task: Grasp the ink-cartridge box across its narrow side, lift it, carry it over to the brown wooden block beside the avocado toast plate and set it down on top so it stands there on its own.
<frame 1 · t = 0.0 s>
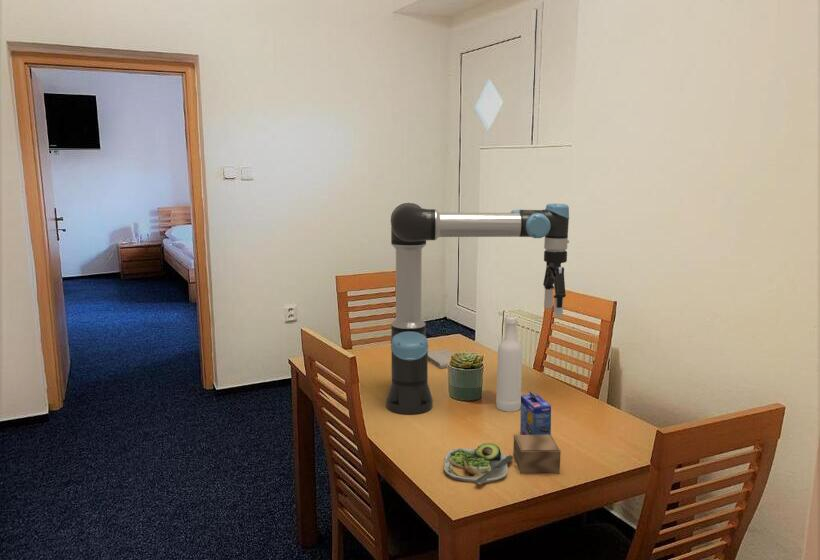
hand: (552, 312, 219), 28 cm above the table, fingers open, 13 cm apart
bottle: (508, 408, 208), on the table
avocado toast plate: (477, 468, 168), on the table
brown wooden block: (535, 464, 169), on the table
washcloth: (443, 362, 257), on the table
ink cartridge box: (534, 440, 184), on the table
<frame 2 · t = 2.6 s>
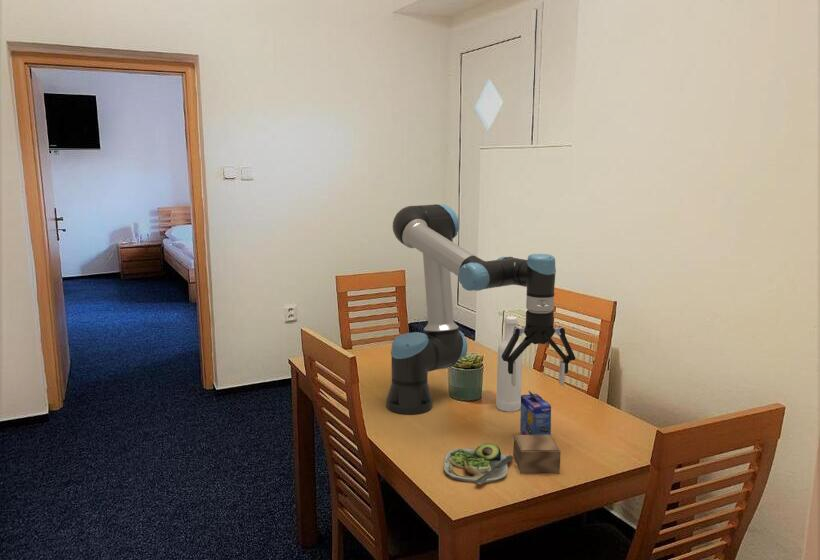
hand: (537, 384, 181), 17 cm above the table, fingers open, 13 cm apart
nothing on the table moved.
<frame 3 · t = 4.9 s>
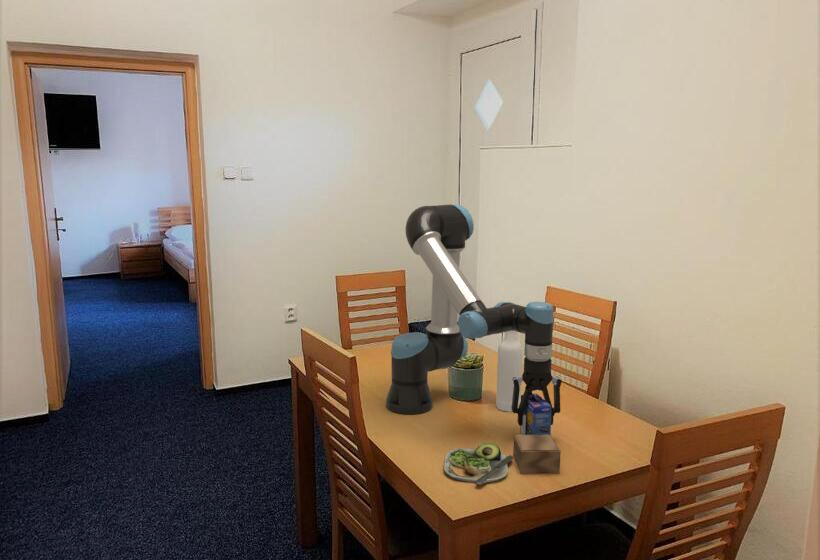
hand: (534, 435, 184), 1 cm above the table, fingers closed on ink cartridge box, 6 cm apart
ink cartridge box: (534, 440, 184), on the table, touching gripper
everything else where it was.
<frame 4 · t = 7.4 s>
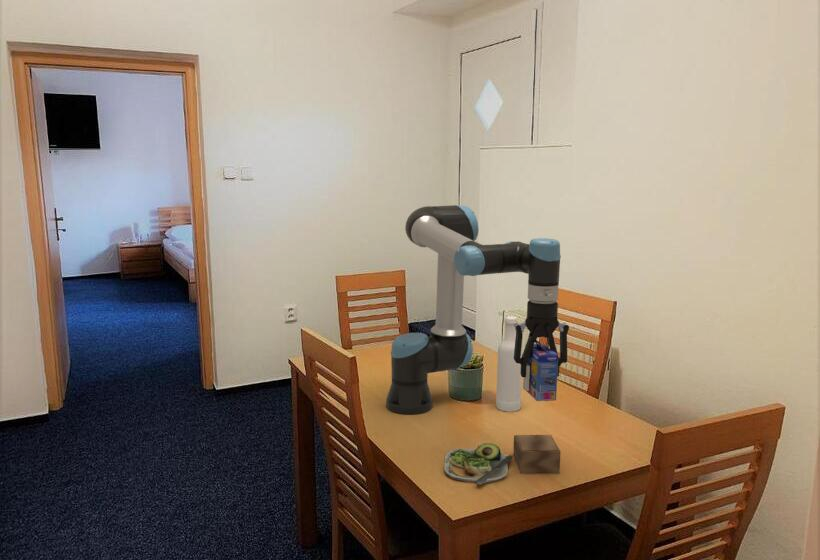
hand: (539, 388, 165), 21 cm above the table, fingers closed on ink cartridge box, 6 cm apart
ink cartridge box: (538, 395, 166), point 19 cm above the table, touching gripper
everything else where it was.
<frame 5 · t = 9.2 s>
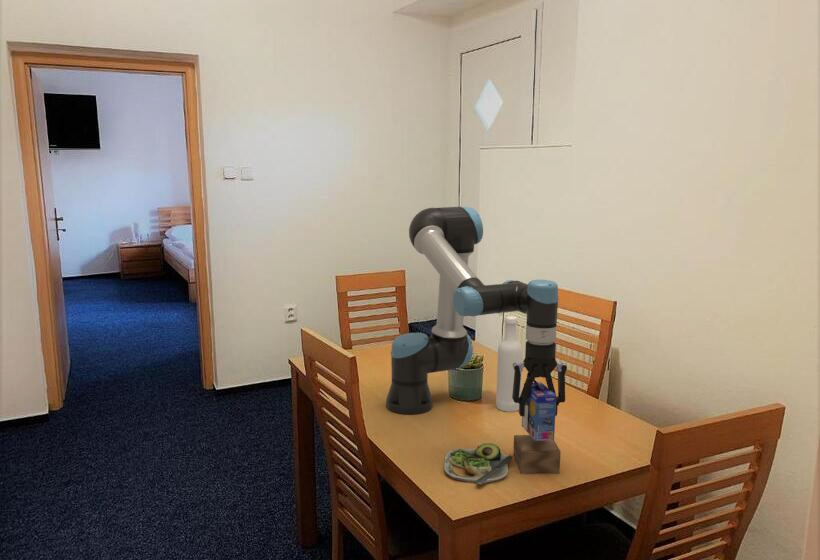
hand: (537, 427, 167), 10 cm above the table, fingers closed on ink cartridge box, 6 cm apart
ink cartridge box: (536, 433, 167), point 9 cm above the table, touching gripper
everything else where it was.
when the fingers open (9 cm above the table, at t = 10.3 s): ink cartridge box stays where it is, resting on brown wooden block.
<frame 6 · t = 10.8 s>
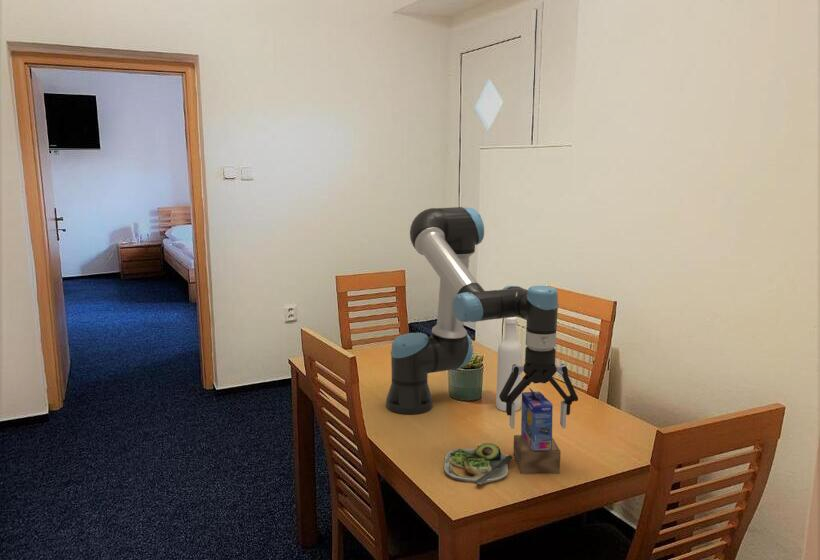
hand: (537, 426, 167), 11 cm above the table, fingers open, 13 cm apart
ink cartridge box: (535, 443, 168), point 6 cm above the table, touching brown wooden block
everything else where it was.
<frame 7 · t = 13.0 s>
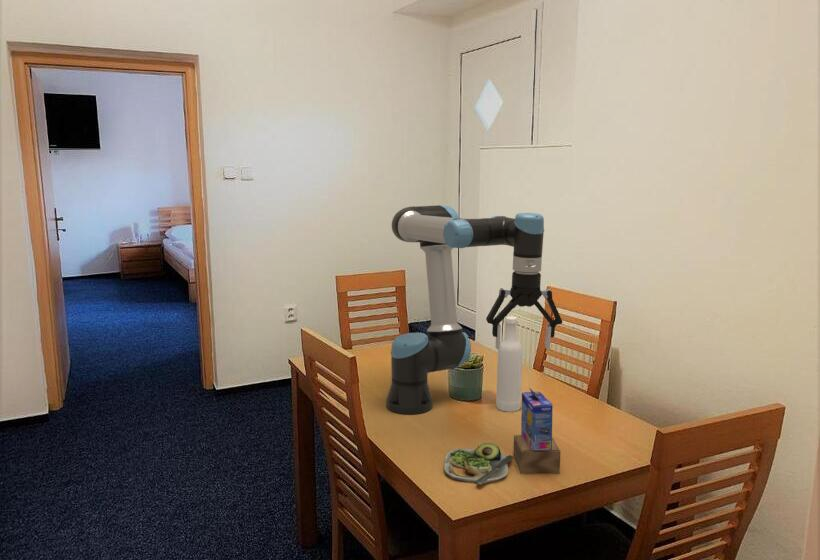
hand: (522, 348, 175), 28 cm above the table, fingers open, 13 cm apart
nothing on the table moved.
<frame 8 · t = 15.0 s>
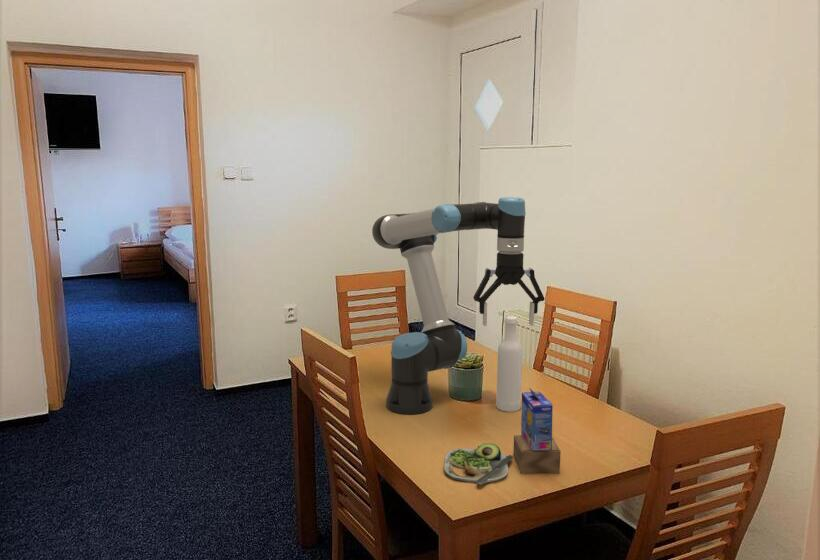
hand: (507, 324, 187), 32 cm above the table, fingers open, 13 cm apart
nothing on the table moved.
at the end: ink cartridge box inside the target area on the brown wooden block (0.3 cm from its centre), point 6.0 cm above the brown wooden block's base; ink cartridge box tilted 0°; the gripper is holding nothing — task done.
